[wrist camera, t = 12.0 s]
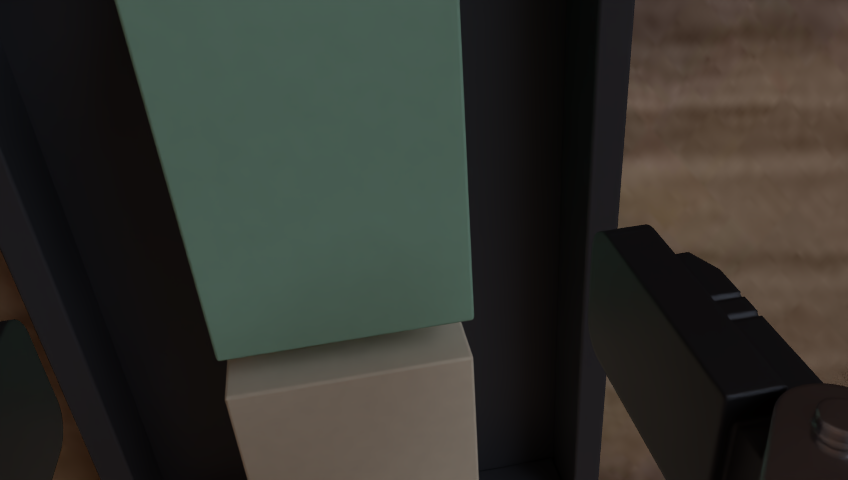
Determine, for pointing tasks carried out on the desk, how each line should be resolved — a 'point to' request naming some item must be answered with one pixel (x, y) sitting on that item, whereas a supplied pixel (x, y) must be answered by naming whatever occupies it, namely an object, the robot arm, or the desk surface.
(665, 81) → the desk surface
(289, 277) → the sage pad
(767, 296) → the desk surface
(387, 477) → the beige pad
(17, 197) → the tray
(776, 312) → the desk surface
